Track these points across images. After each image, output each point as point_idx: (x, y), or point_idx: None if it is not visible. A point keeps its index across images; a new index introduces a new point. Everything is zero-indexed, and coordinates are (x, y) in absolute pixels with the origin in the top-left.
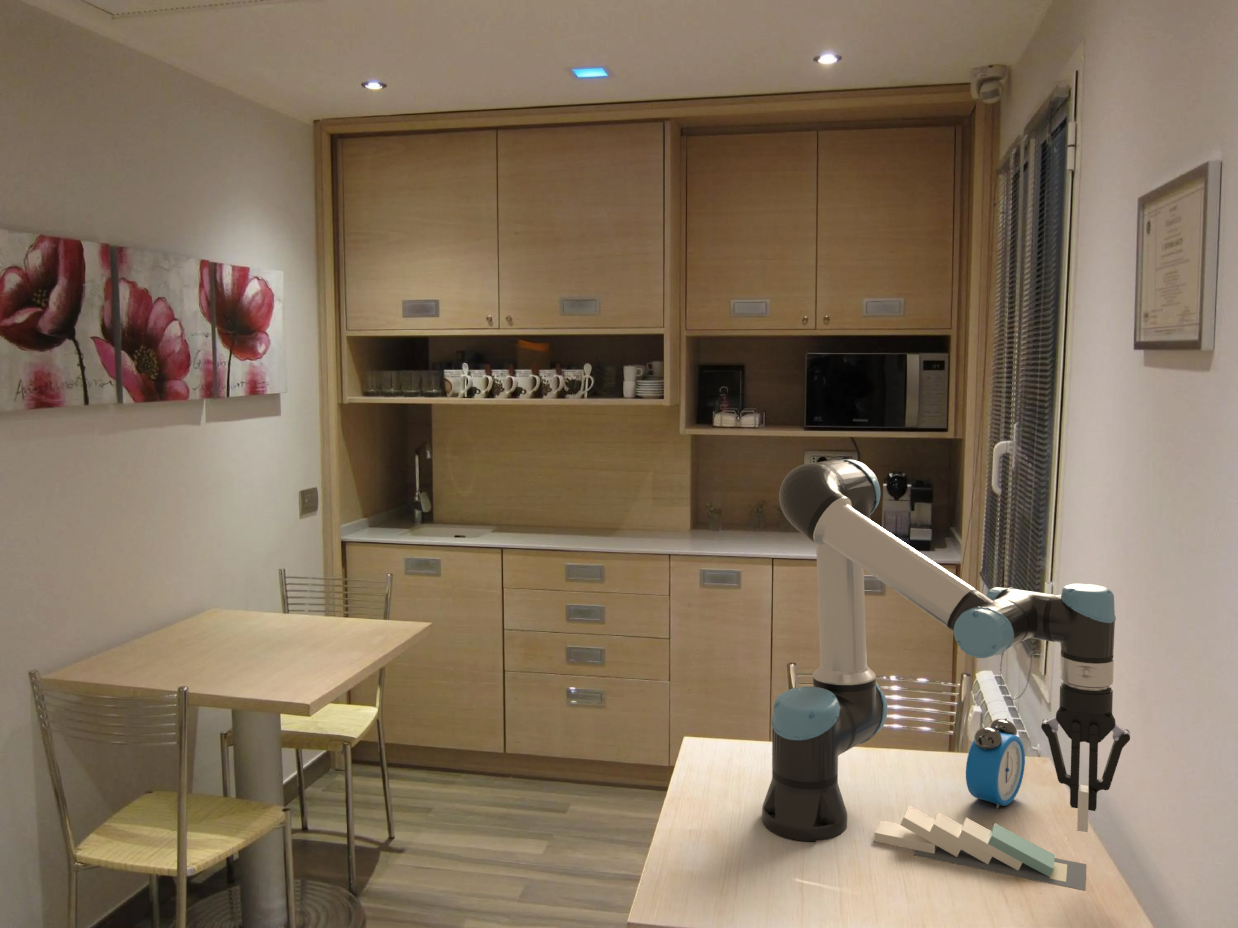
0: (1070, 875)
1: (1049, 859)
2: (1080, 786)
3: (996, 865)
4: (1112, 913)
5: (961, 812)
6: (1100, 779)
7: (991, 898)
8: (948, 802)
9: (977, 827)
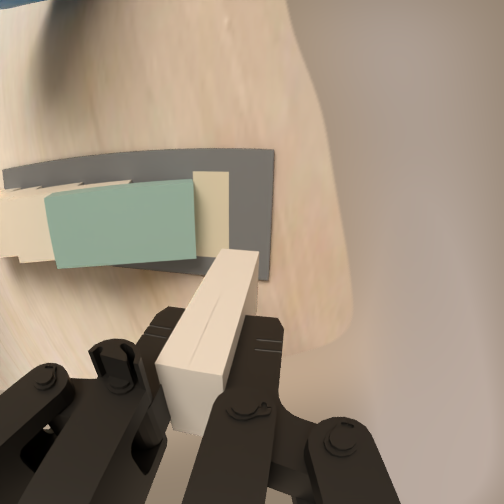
0: (237, 225)
1: (183, 223)
2: (171, 386)
3: None
4: (312, 333)
5: (36, 43)
6: (294, 472)
7: (128, 340)
8: (23, 24)
9: (31, 214)
